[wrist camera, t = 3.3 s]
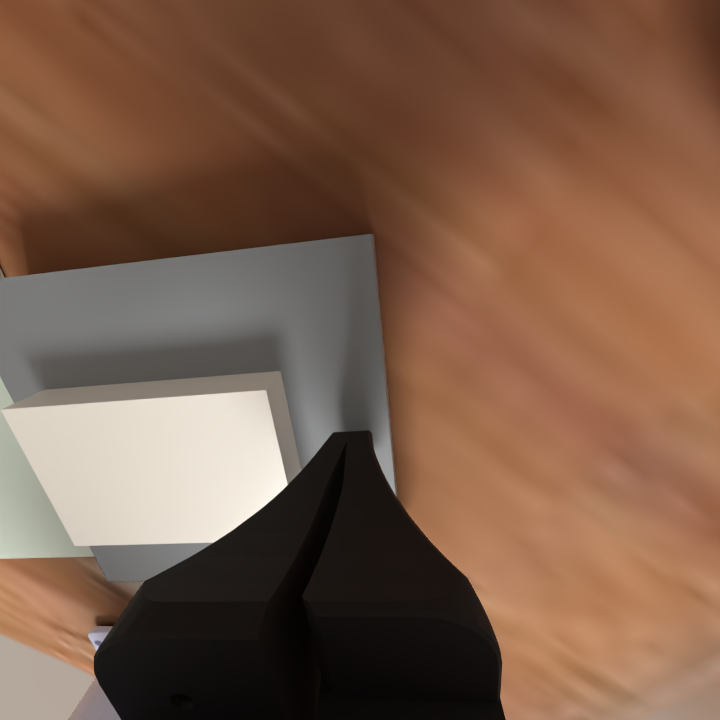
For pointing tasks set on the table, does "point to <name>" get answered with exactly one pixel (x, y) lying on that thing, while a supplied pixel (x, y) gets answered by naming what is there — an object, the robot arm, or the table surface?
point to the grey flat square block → (211, 342)
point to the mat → (27, 503)
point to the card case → (159, 455)
